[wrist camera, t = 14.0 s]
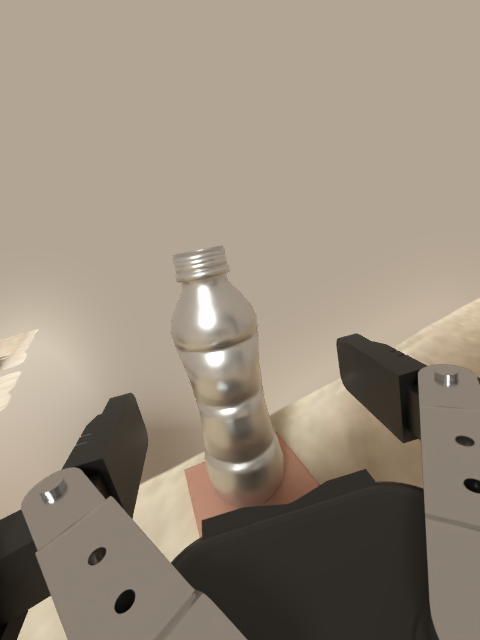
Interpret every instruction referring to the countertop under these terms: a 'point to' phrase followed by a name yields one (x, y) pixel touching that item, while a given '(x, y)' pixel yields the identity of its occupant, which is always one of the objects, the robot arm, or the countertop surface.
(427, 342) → the countertop surface
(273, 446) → the plastic bottle
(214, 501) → the rubber mat
